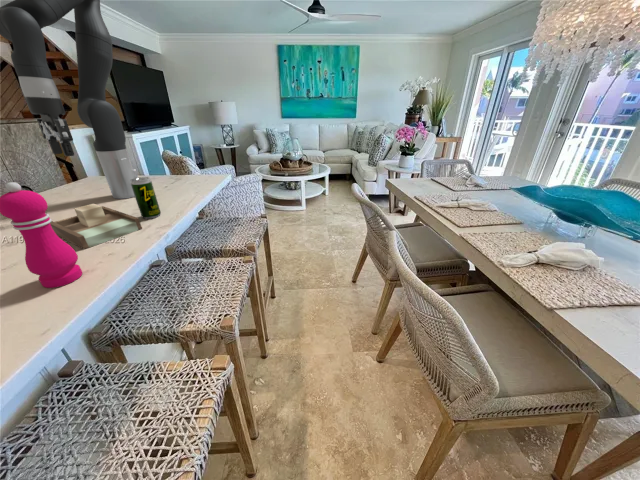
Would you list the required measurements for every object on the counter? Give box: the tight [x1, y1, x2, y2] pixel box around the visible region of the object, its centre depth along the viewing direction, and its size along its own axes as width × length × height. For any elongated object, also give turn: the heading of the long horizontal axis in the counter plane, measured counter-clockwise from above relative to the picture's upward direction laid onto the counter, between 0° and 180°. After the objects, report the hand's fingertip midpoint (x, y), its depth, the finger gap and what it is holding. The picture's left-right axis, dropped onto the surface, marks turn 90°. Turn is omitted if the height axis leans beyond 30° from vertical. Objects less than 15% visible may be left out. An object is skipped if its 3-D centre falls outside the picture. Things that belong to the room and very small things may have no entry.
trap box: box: [50, 205, 143, 250], centre depth 74 cm, size 14×20×3 cm
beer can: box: [131, 176, 162, 220], centre depth 82 cm, size 5×5×12 cm
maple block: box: [73, 203, 107, 227], centre depth 72 cm, size 4×4×4 cm
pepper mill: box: [0, 181, 83, 289], centre depth 49 cm, size 7×7×20 cm
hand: (63, 154), depth 83 cm, fingers open, 8 cm apart
